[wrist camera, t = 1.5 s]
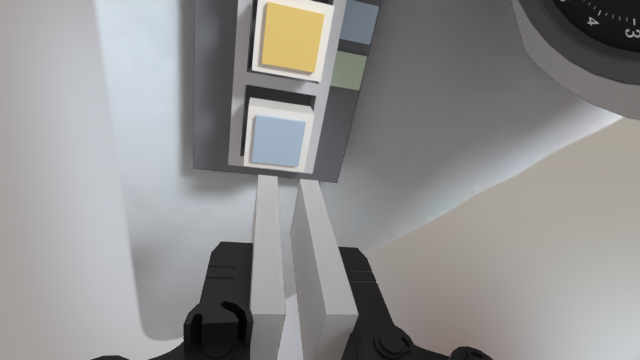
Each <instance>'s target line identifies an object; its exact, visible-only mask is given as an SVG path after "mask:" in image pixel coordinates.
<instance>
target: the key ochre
mask: <svg viewBox="0 0 640 360" xmlns="http://www.w3.org/2000/svg"><path fill="white" fill-rule="evenodd" d="M334 7H335V6H333V5H328V4H324V3H319V2H315V1H311V0H258V5H257V16H256V28H255V39H254V51H253V62H252V70H254V71H259V72H265V73H271V74H277V75H283V76H289V77H294V78H300V79H306V80H312V81H318V82H321V77H322V72H323V66H324V61H325V56H326V50H327V45H328V39H329V34H330V28H331V23H332V18H333V12H334Z"/></svg>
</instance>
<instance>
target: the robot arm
mask: <svg viewBox="0 0 640 360" xmlns="http://www.w3.org/2000/svg"><path fill="white" fill-rule="evenodd" d="M290 234H291V243H292V253H293V262H294V272H295V282H296V291H297V301H298V310H299V320H300V330H301V339H302V349H303V358H304V360H493V359H492V358H490V357H489V356H487V355H486V354H485V353H483V352H482V351H480V350H477V349H474V348H471V347H458V348H457V349H455V350H453V352H452V353H451V355H450V357H448V356H445V355H442V354H439V353H435V352H432V351H429V350H425V349H423V348H420V347H418V346H416V345H414V343H413V342H412V340H411V338H410V337H409V336H408V335H407V334H406V333H405V332H404V331H403V330H402V329H400V328H398V327H397V326H395V325H394V323H393V321H392V319H391V317H390V314H389V311H388V309H387V307H386V304H385V302H384V299H383V297H382V294H381V292H380V289H379V287H378V284H377V283H376V280H375V277H374V275H373V273H372V270H371V267H370V265H369V262H368V260H367V258H366V257H365V256H364V255H363V254H362V253H361V252H360V250H359V249H358V248H351V247H338V245H337V242H336V238H335V235H334V232H333V228H332V225H331V222H330V219H329V215H328V212H327V209H326V205H325V202H324V199H323V195H322V192H321V189H320V186H319V182H318V181H317V180H307V179H300V182H299V187H298V193H297V198H296V204H295V209H294V215H293V221H292V226H291V232H290ZM285 315H286V311H285V293H284V277H283V260H282V244H281V227H280V210H279V194H278V177H277V176H267V175H258V183H257V192H256V200H255V209H254V218H253V227H252V240H251V243H238V242H220V243H219V245H218V246H217V247H216V248H215V249H214V250H213V251H212V252H211V257H210V261H209V265H208V269H207V273H206V279H205V282H204V286H203V290H202V295H201V299H200V303H199V304H198V305H196V306H195V307H194V308H193V309H192V310H191V311H190V312H189V313H188V316H187V318H186V320H185V322H184V341H183V343H181V344H180V345H179V346H178V347H176V348H175V349H173V350H172V351H170V352H168V353H166V354H163V355H161V356H158V357H155V358H152V359H149V360H277V355H278V350H279V345H280V340H281V335H282V330H283V325H284V320H285ZM92 360H129V359H126V358H124V357H121V356H101V357H98V358H95V359H92Z"/></svg>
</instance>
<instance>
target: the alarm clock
mask: <svg viewBox="0 0 640 360" xmlns="http://www.w3.org/2000/svg"><path fill="white" fill-rule="evenodd" d="M511 2H512V6H513V10H514V13H515V17H516V21H517V24H518V28H519V32H520V35H521V39H522V43H523V46H524V49H525V52H526V53H527V54H528V55H529V57H530V58H531V59H532V60H533V61H534V63H535V64H536V65H538V66H539V67H540V68H541V69H542V70H543V71H544V72H546V73H547V74H548V75H549V76H550V77H551V78H553V79H554V80H555V81H556V82H557V83H558V84H559V85H561V86H562V87H564V88H566V89H567V90H569V91H571V92H572V93H574V94H576V95H577V96H579V97H581V98H582V99H584V100H585V101H587V102H589V103H590V104H593V105H595V106H598V107H600V108H603V109H606V110H608V111H611V112H613V113H616V114H619V115H621V116H624V117H626V118H629V119H635V120H640V0H511Z"/></svg>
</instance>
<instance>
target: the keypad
mask: <svg viewBox="0 0 640 360" xmlns="http://www.w3.org/2000/svg"><path fill="white" fill-rule="evenodd" d="M311 1H315V2H319V3H324V4H328V5H333V6H335V7H334V12H333V18H332V23H331V28H330V34H329V39H328V45H327V50H326V56H325V61H324V66H323V72H322V77H321V82H318V81H312V80H306V79H300V78H294V77H289V76H283V75H277V74H271V73H265V72H259V71H254V70H252V62H253V51H254V39H255V28H256V16H257V5H258V0H195V24H194V151H193V169H203V170H213V171H223V172H233V173H243V174H253V175H267V176H277V177H283V178H293V179H307V180H317V181H323V182H333V183H337V182H338V178H339V174H340V170H341V166H342V162H343V157H344V153H345V149H346V145H347V141H348V137H349V133H350V128H351V124H352V120H353V116H354V112H355V108H356V104H357V100H358V95H359V91H360V87H361V83H362V79H363V75H364V71H365V66H366V62H367V58H368V54H369V50H370V46H371V42H372V37H373V33H374V29H375V25H376V21H377V17H378V13H379V8H380V4H381V0H311ZM250 97H252V98H258V99H265V100H271V101H278V102H284V103H291V104H297V105H304V106H310V107H311V108H312V110H313V113H314V121H313V126H312V131H311V137H310V142H309V148H308V153H307V159H306V164H305V169H304V172H297V171H287V170H278V169H268V168H259V167H250V166H244V154H245V143H246V131H247V120H248V108H249V102H250Z"/></svg>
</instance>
